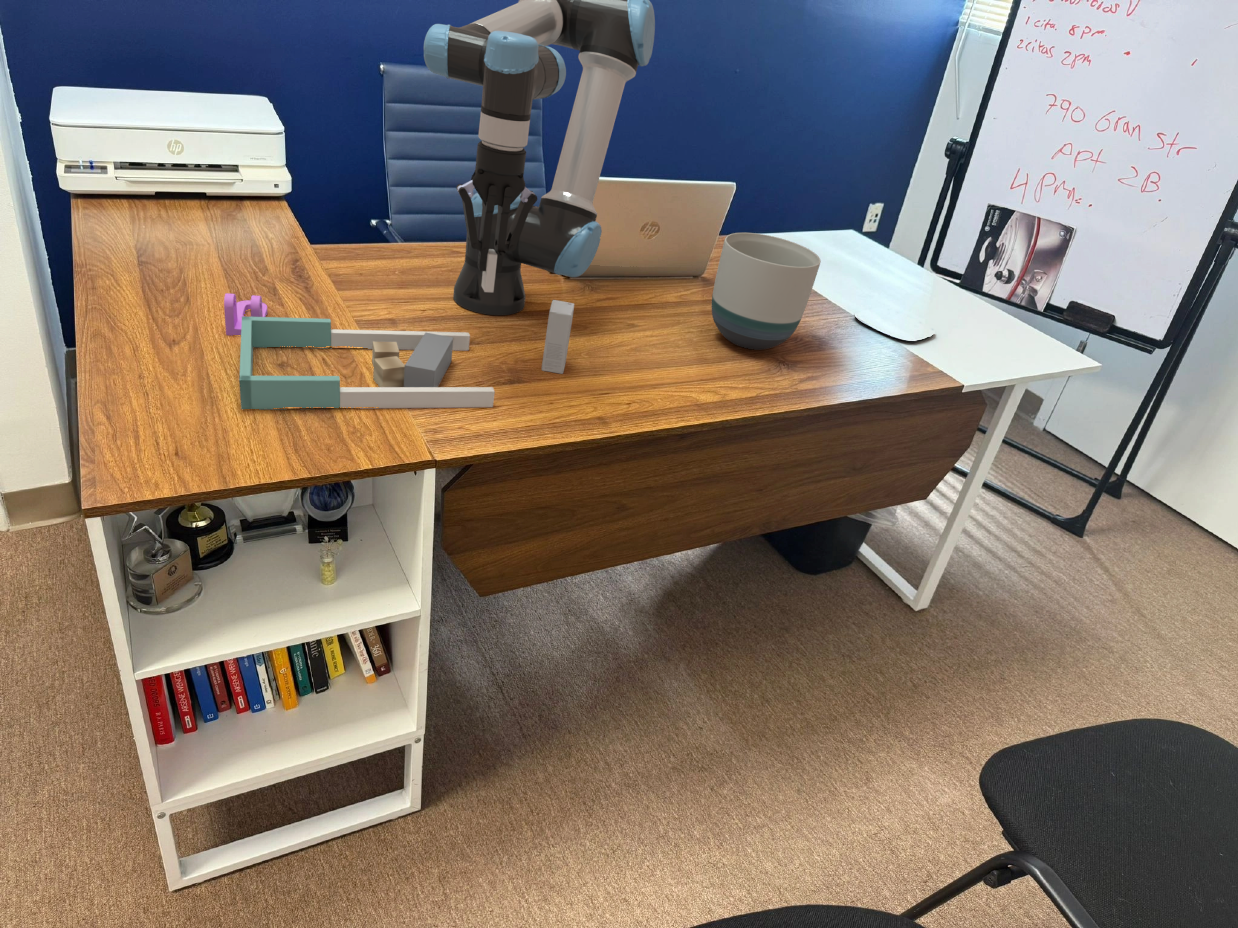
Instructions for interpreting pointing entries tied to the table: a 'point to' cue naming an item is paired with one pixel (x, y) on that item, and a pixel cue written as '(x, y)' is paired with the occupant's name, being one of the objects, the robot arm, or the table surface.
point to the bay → (285, 388)
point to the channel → (408, 395)
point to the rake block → (428, 361)
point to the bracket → (241, 311)
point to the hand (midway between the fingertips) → (487, 289)
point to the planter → (761, 289)
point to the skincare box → (557, 336)
